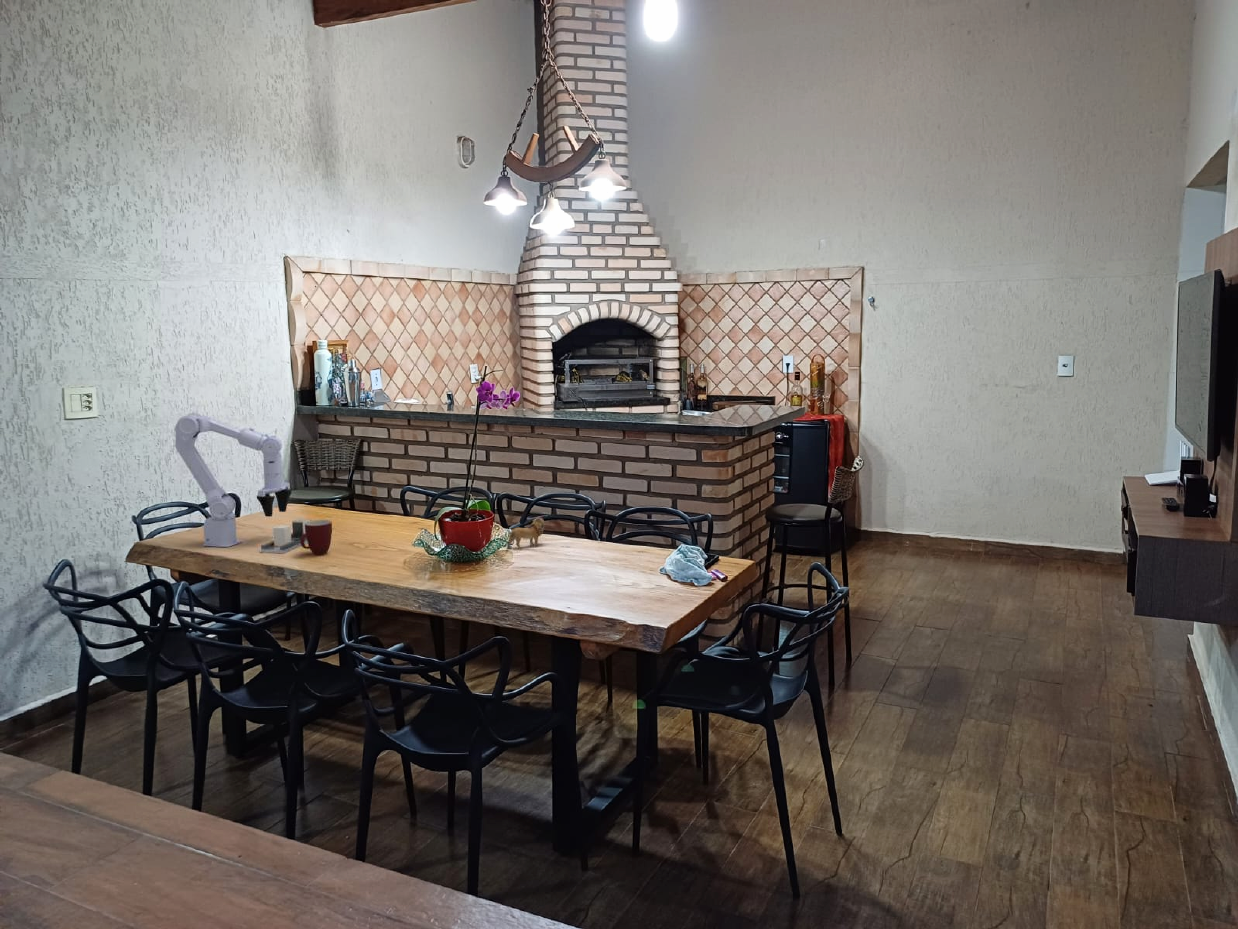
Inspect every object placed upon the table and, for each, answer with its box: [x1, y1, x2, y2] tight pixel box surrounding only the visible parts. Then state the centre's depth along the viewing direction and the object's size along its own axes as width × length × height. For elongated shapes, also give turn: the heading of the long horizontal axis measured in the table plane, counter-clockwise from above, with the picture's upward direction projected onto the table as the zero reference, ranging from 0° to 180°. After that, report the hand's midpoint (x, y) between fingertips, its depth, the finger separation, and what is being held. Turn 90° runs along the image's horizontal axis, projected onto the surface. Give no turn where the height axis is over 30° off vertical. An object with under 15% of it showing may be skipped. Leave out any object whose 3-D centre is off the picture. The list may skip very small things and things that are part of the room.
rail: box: [260, 518, 310, 554], centre depth 288 cm, size 8×19×7 cm, turn 168°
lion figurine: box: [505, 517, 546, 550], centre depth 285 cm, size 15×5×9 cm, turn 131°
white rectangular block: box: [272, 525, 292, 546], centre depth 284 cm, size 4×4×6 cm
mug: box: [300, 519, 333, 556], centre depth 276 cm, size 11×8×10 cm
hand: (275, 514), depth 293 cm, fingers open, 7 cm apart
